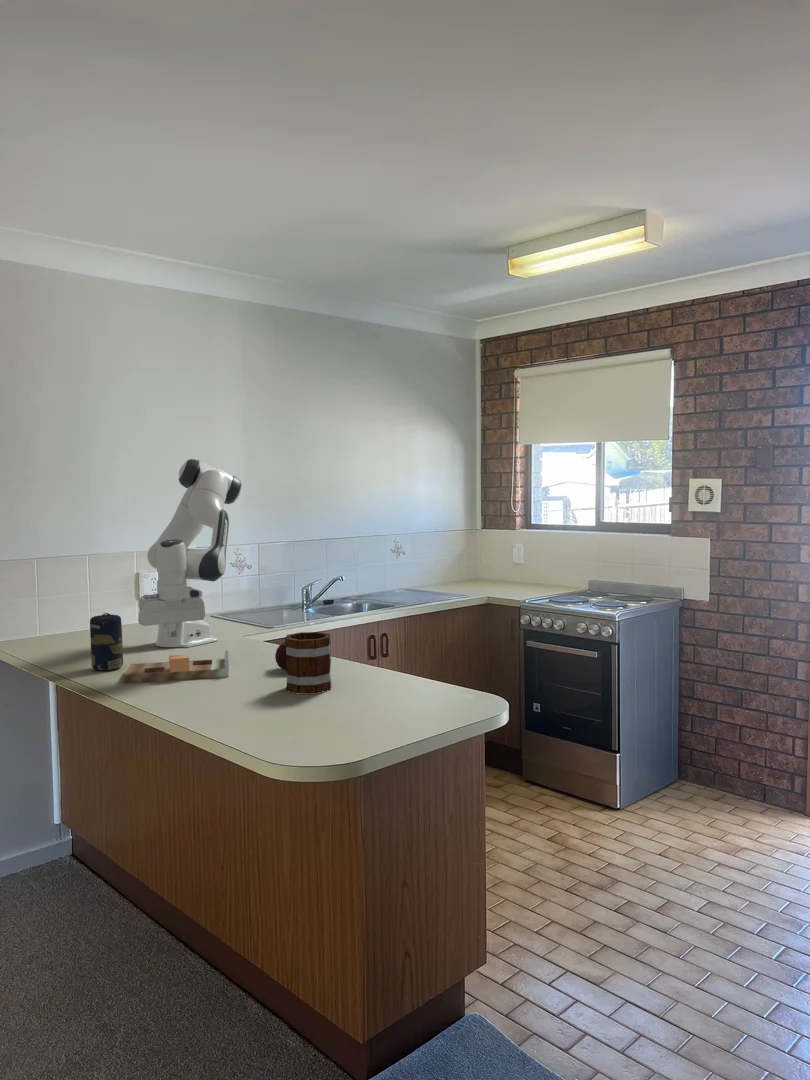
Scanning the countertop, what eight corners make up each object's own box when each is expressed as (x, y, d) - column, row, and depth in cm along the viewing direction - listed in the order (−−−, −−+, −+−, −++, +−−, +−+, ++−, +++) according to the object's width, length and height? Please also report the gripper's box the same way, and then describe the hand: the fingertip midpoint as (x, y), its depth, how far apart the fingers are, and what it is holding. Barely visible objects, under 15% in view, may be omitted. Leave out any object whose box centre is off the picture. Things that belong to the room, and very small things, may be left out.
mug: (319, 696, 216) (318, 641, 215) (276, 692, 221) (275, 639, 220) (349, 679, 234) (348, 629, 233) (308, 676, 239) (307, 627, 238)
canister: (129, 666, 255) (127, 611, 254) (107, 673, 246) (105, 616, 245) (107, 664, 259) (105, 610, 258) (84, 670, 250) (82, 614, 249)
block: (170, 672, 235) (169, 659, 235) (169, 668, 240) (169, 655, 240) (189, 670, 237) (188, 657, 237) (188, 667, 242) (187, 654, 242)
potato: (293, 664, 255) (292, 636, 254) (312, 671, 245) (311, 642, 245) (269, 669, 249) (268, 640, 249) (287, 675, 240) (287, 645, 239)
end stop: (225, 677, 239) (224, 660, 239) (225, 666, 254) (225, 650, 254) (228, 676, 239) (228, 660, 239) (228, 666, 254) (228, 650, 254)
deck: (124, 683, 233) (124, 674, 233) (130, 671, 248) (130, 663, 248) (225, 677, 239) (224, 668, 239) (225, 666, 254) (225, 658, 254)
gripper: (142, 596, 233) (142, 642, 234) (207, 591, 246) (207, 635, 247) (134, 594, 238) (135, 639, 239) (198, 589, 251) (199, 632, 252)
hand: (172, 637), depth 243 cm, fingers closed
